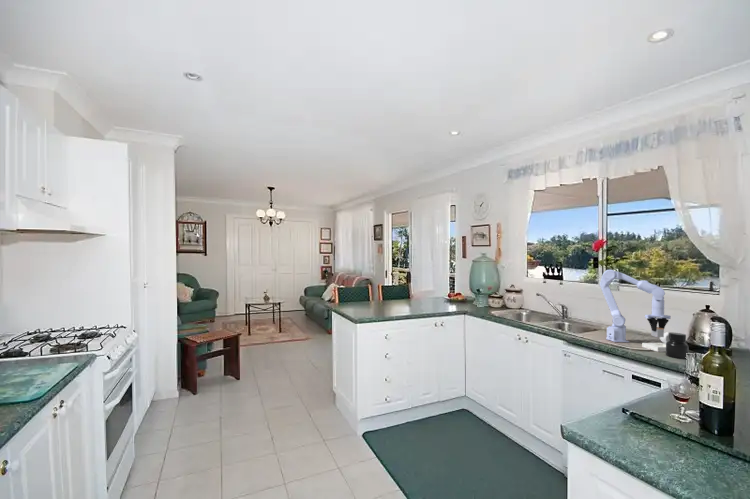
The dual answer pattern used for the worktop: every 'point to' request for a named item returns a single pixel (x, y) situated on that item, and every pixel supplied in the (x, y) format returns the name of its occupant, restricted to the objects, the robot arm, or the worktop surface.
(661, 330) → the plug
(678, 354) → the ink bottle
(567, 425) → the worktop surface
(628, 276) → the robot arm
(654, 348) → the socket plate
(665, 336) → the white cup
